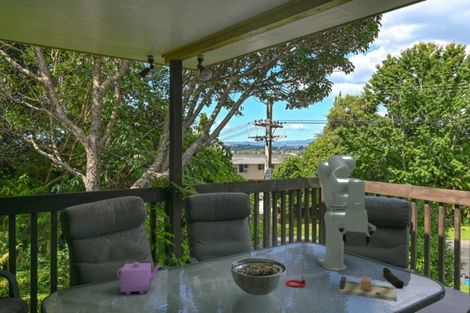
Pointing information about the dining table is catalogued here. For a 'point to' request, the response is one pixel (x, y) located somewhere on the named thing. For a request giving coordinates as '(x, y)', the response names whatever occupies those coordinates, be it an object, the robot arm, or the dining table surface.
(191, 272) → the dining table surface
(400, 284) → the hand tool
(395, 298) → the gauge board
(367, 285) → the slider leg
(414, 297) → the dining table surface
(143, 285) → the teapot
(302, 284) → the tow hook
